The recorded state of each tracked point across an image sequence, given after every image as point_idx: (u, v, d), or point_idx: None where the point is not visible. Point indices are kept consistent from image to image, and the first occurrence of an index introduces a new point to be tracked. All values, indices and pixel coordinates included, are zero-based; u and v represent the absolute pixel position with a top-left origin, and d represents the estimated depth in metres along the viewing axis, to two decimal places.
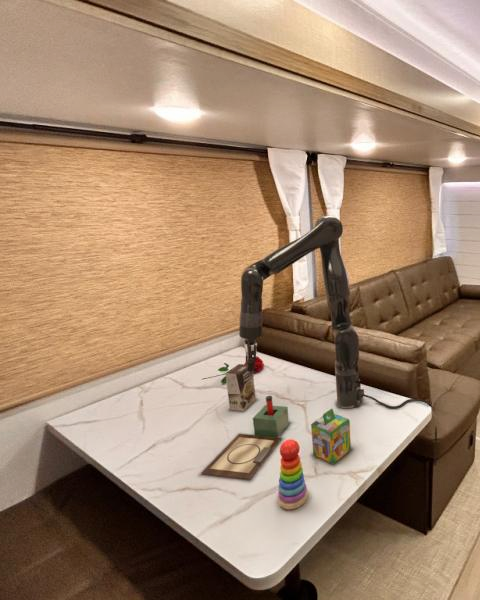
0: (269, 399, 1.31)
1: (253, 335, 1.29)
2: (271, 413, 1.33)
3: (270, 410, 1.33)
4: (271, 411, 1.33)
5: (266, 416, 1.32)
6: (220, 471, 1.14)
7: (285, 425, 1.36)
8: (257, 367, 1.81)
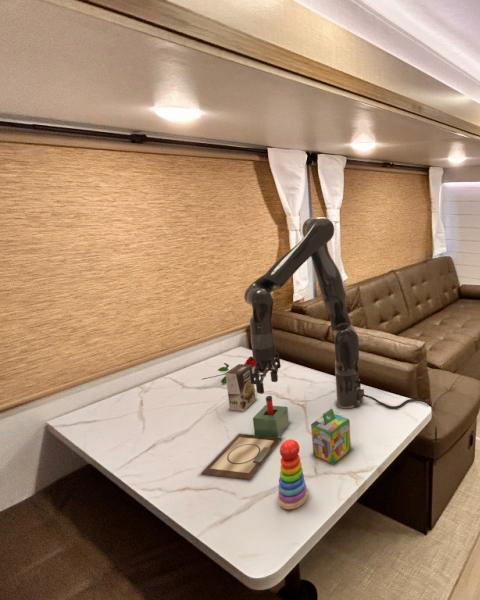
0: (269, 399, 1.31)
1: None
2: (271, 413, 1.33)
3: (270, 410, 1.33)
4: (271, 411, 1.33)
5: (266, 416, 1.32)
6: (220, 471, 1.14)
7: (285, 425, 1.36)
8: None
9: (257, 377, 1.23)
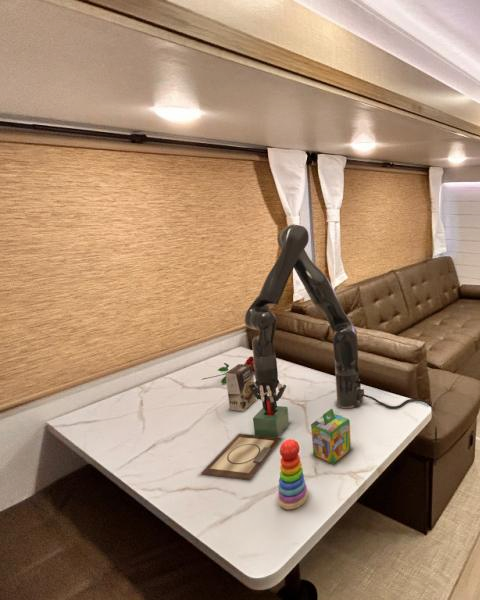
0: (269, 399, 1.31)
1: None
2: (271, 413, 1.33)
3: (270, 410, 1.33)
4: (271, 411, 1.33)
5: (266, 416, 1.32)
6: (220, 471, 1.14)
7: (285, 425, 1.36)
8: None
9: None
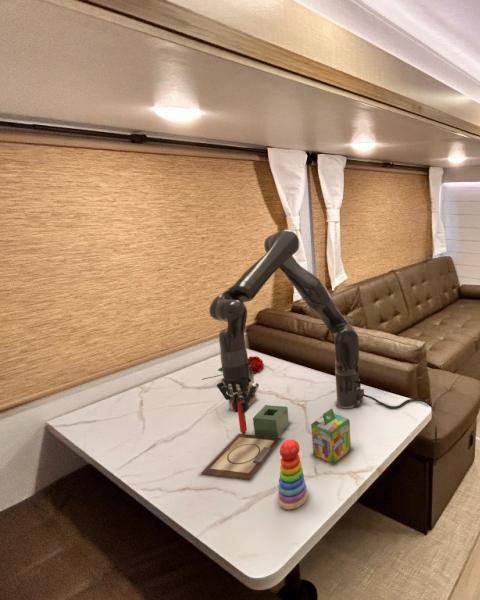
0: (239, 399, 1.17)
1: None
2: (242, 415, 1.19)
3: (241, 412, 1.18)
4: (242, 413, 1.19)
5: (266, 416, 1.32)
6: (220, 471, 1.14)
7: (285, 425, 1.36)
8: (257, 367, 1.81)
9: None
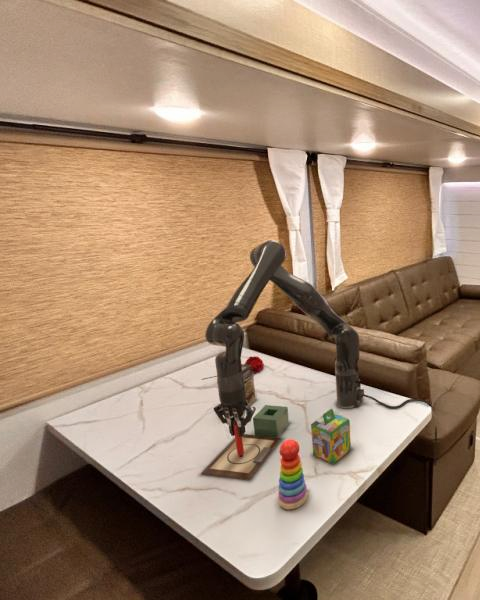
0: (236, 423, 1.16)
1: None
2: (239, 438, 1.18)
3: (238, 435, 1.17)
4: None
5: (266, 416, 1.32)
6: (220, 471, 1.14)
7: (285, 425, 1.36)
8: (257, 367, 1.81)
9: None
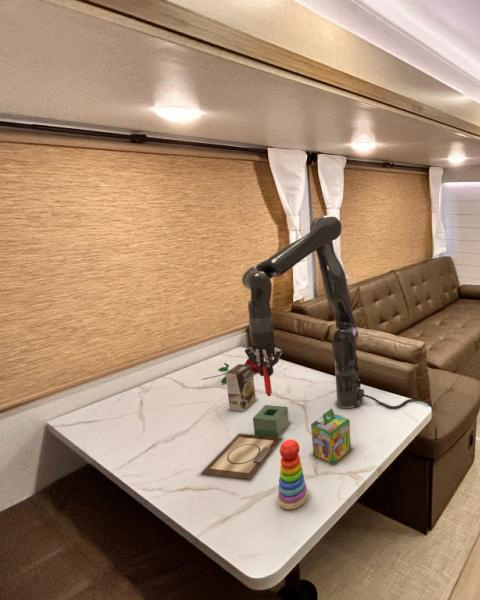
0: (265, 363, 1.28)
1: None
2: (267, 378, 1.30)
3: (266, 375, 1.29)
4: (267, 376, 1.30)
5: (266, 416, 1.32)
6: (220, 471, 1.14)
7: (285, 425, 1.36)
8: (257, 367, 1.81)
9: None
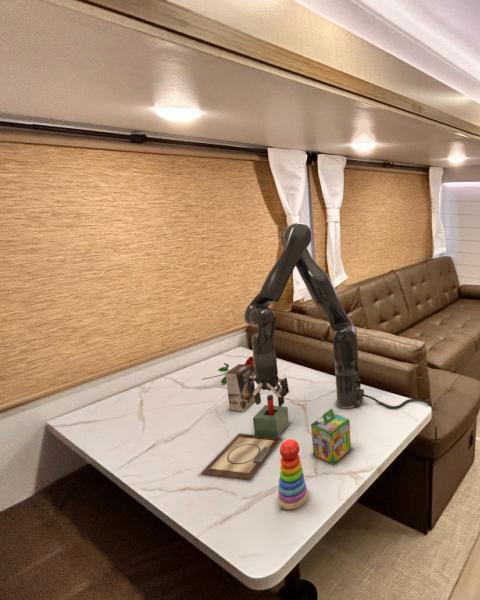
0: (270, 398, 1.32)
1: None
2: (272, 412, 1.34)
3: (271, 409, 1.33)
4: (272, 410, 1.34)
5: (266, 416, 1.32)
6: (220, 471, 1.14)
7: (285, 425, 1.36)
8: None
9: None
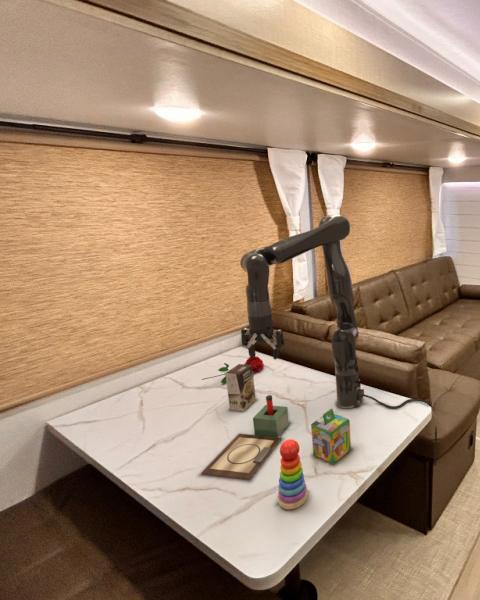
0: (269, 398, 1.32)
1: None
2: (271, 412, 1.34)
3: (270, 409, 1.33)
4: (271, 410, 1.33)
5: (266, 416, 1.32)
6: (220, 471, 1.14)
7: (285, 425, 1.36)
8: (257, 367, 1.81)
9: None
